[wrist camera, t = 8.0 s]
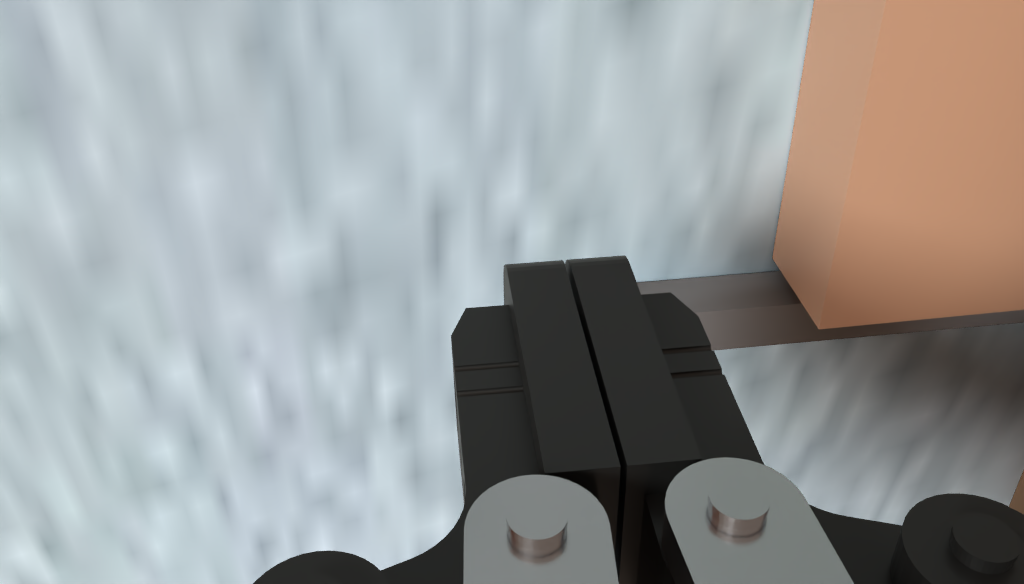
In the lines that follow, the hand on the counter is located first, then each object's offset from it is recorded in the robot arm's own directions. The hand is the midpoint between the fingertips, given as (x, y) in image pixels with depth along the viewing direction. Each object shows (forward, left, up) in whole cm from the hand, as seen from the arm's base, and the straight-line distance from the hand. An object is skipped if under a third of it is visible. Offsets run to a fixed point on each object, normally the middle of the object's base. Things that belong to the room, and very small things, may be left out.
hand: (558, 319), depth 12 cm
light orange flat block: (-10, 0, -7) cm, 12 cm away
